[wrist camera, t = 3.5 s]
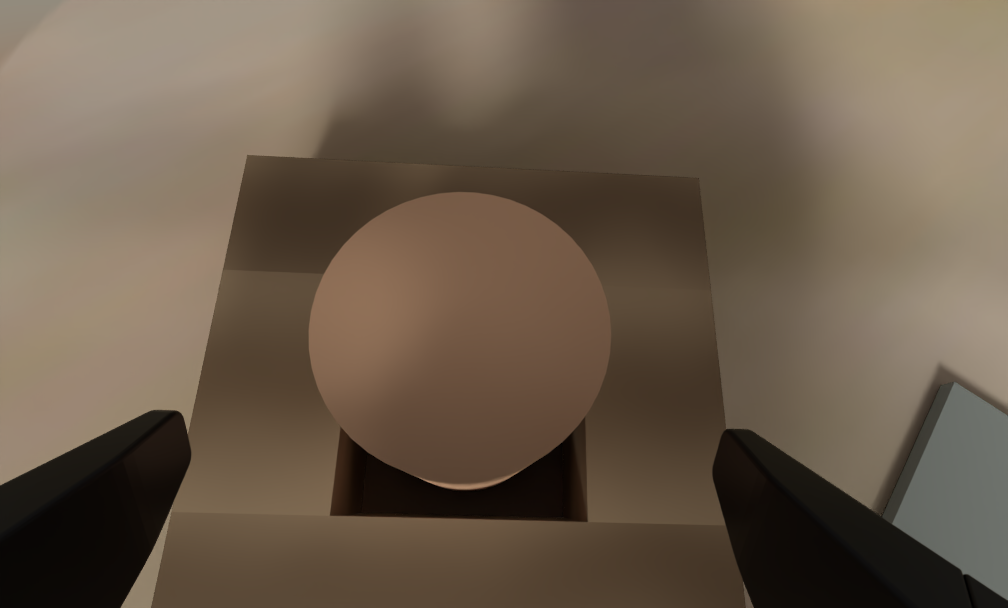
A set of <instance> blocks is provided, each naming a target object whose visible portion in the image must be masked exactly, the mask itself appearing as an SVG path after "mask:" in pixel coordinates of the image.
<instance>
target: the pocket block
mask: <svg viewBox="0 0 1008 608" xmlns="http://www.w3.org/2000/svg"><path fill="white" fill-rule="evenodd" d="M451 192H475V193H482V194H489V195H494V196H498V197H502V198H506V199H510V200H512V201H515V202H517V203H520V204H522V205H525V206H527V207H529V208H531V209H533V210H535V211H537V212H539V213H540V214H542V215H544V216H545V217H547V218H548V219H550V220H551V221H552V222H554V223H555V224H557V225H558V226H559V227H560V228H561V229H562V230H564V231H565V232H566V233H567V234H568V235H569V236H570V237H571V238H572V239H573V240H574V241H575V242H576V244H577V245H578V246H579V247H580V248H581V249H582V251H583V252H584V254H585V255H586V257H587V258H588V260H589V261H590V263H591V264H592V266H593V268H594V270H595V272H596V274H597V276H598V278H599V280H600V282H601V284H602V287H603V290H604V293H605V296H606V299H607V304H608V309H609V314H610V323H611V347H610V357H609V361H608V366H607V371H606V375H605V377H604V380H603V383H602V386H601V389H600V391H599V393H598V395H597V397H596V399H595V401H594V403H593V405H592V407H591V409H590V410H589V411H588V413H587V414H586V416H585V417H584V418H583V420H582V421H581V423H580V424H579V425H578V426H577V427H576V429H575V430H574V431H573V432H572V433H571V434H570V435H569V436H568V437H567V438H566V439H565V440H564V441H563V518H556V517H515V516H474V515H433V514H393V513H361V506H362V496H363V487H364V477H365V467H366V458H367V451H365V450H364V449H363V448H362V447H361V446H360V445H358V444H357V443H356V442H355V441H354V440H352V439H351V438H350V437H349V435H348V434H347V433H346V432H345V431H344V430H343V429H342V428H341V426H340V425H339V424H338V423H337V422H336V420H335V419H334V417H333V416H332V414H331V413H330V411H329V409H328V408H327V406H326V405H325V402H324V400H323V398H322V396H321V394H320V392H319V390H318V387H317V384H316V381H315V378H314V374H313V371H312V367H311V360H310V354H309V323H310V315H311V309H312V305H313V302H314V298H315V294H316V291H317V289H318V287H319V284H320V282H321V279H322V277H323V275H324V273H325V271H326V270H327V268H328V266H329V265H330V263H331V261H332V259H333V258H334V257H335V255H336V254H337V253H338V252H339V250H340V249H341V248H342V246H343V245H344V244H345V243H346V242H347V241H348V240H349V239H350V238H351V237H352V236H353V235H354V234H355V233H356V232H357V231H358V230H359V229H361V228H362V227H363V226H364V225H366V224H367V223H368V222H369V221H371V220H372V219H374V218H375V217H377V216H379V215H380V214H382V213H384V212H385V211H387V210H389V209H391V208H393V207H396V206H398V205H400V204H402V203H404V202H407V201H411V200H414V199H417V198H420V197H424V196H429V195H434V194H439V193H451ZM725 430H726V424H725V415H724V406H723V396H722V387H721V378H720V369H719V360H718V351H717V342H716V333H715V323H714V314H713V305H712V296H711V287H710V278H709V269H708V260H707V250H706V241H705V232H704V223H703V214H702V205H701V196H700V187H699V178H688V177H669V176H649V175H629V174H609V173H590V172H570V171H550V170H531V169H511V168H491V167H472V166H452V165H432V164H412V163H393V162H373V161H353V160H334V159H314V158H294V157H275V156H255V155H247V159H246V164H245V169H244V174H243V178H242V183H241V188H240V192H239V197H238V202H237V206H236V211H235V216H234V221H233V225H232V230H231V235H230V239H229V244H228V249H227V254H226V258H225V263H224V268H223V272H222V277H221V282H220V286H219V291H218V296H217V301H216V305H215V310H214V315H213V319H212V324H211V329H210V334H209V338H208V343H207V348H206V352H205V357H204V362H203V366H202V371H201V376H200V381H199V385H198V390H197V395H196V399H195V404H194V409H193V413H192V418H191V423H190V428H189V432H188V438H189V442H190V446H191V461H190V465H189V468H188V470H187V472H186V474H185V477H184V479H183V481H182V484H181V486H180V488H179V491H178V493H177V495H176V498H175V500H174V503H173V508H172V512H171V517H170V522H169V526H168V531H167V536H166V541H165V545H164V550H163V555H162V559H161V564H160V569H159V573H158V578H157V583H156V588H155V592H154V597H153V602H152V606H151V608H746V606H745V597H744V588H743V579H742V576H741V574H740V571H739V568H738V566H737V563H736V559H735V556H734V553H733V550H732V546H731V543H730V539H729V535H728V532H727V528H726V525H725V521H724V518H723V514H722V510H721V507H720V503H719V500H718V496H717V493H716V489H715V485H714V482H713V477H712V467H713V463H714V459H715V456H716V452H717V449H718V445H719V442H720V438H721V435H722V433H723V432H724V431H725Z"/></svg>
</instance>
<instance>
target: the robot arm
mask: <svg viewBox="0 0 1008 608" xmlns="http://www.w3.org/2000/svg"><path fill="white" fill-rule="evenodd" d="M190 461H191V446H190V442H189V438H188V434H187V430H186V426H185V421H184V418H183V416H182V414H181V413H180V412H178V411H175V410H152V411H149V412H147V413H145V414H143V415H141V416H139V417H137V418H135V419H133V420H131V421H129V422H127V423H125V424H123V425H121V426H119V427H117V428H115V429H113V430H111V431H109V432H107V433H105V434H103V435H101V436H99V437H97V438H95V439H93V440H91V441H89V442H87V443H85V444H83V445H81V446H79V447H77V448H75V449H73V450H71V451H69V452H67V453H65V454H63V455H61V456H59V457H57V458H55V459H53V460H51V461H49V462H47V463H45V464H42V465H40V466H38V467H36V468H34V469H32V470H30V471H28V472H26V473H24V474H22V475H20V476H18V477H16V478H14V479H12V480H10V481H8V482H6V483H4V484H2V485H0V608H121V606H122V604H123V602H124V600H125V599H126V597H127V595H128V593H129V592H130V590H131V588H132V586H133V584H134V583H135V581H136V579H137V577H138V576H139V574H140V572H141V570H142V568H143V567H144V565H145V563H146V561H147V559H148V557H149V555H150V554H151V552H152V550H153V548H154V545H155V543H156V541H157V539H158V537H159V535H160V532H161V530H162V528H163V525H164V523H165V521H166V518H167V516H168V514H169V511H170V509H171V507H172V505H173V502H174V500H175V498H176V495H177V493H178V491H179V488H180V486H181V484H182V481H183V479H184V477H185V474H186V472H187V470H188V468H189V465H190ZM712 477H713V482H714V485H715V489H716V493H717V496H718V500H719V503H720V507H721V510H722V514H723V518H724V521H725V525H726V528H727V532H728V535H729V539H730V543H731V546H732V550H733V553H734V556H735V559H736V563H737V566H738V568H739V571H740V574H741V576H742V579H743V582H744V584H745V587H746V589H747V592H748V594H749V597H750V599H751V602H752V604H753V607H754V608H1008V600H1006V599H1005V598H1003V597H1002V596H1000V595H999V594H997V593H996V592H994V591H993V590H991V589H990V588H988V587H987V586H985V585H984V584H982V583H981V582H979V581H978V580H976V579H975V578H973V577H972V576H970V575H969V574H963V572H962V570H961V569H959V568H958V567H956V566H955V565H953V564H952V563H950V562H949V561H947V560H946V559H944V558H943V557H941V556H940V555H938V554H937V553H935V552H934V551H932V550H931V549H929V548H928V547H926V546H925V545H923V544H922V543H920V542H919V541H917V540H916V539H914V538H913V537H911V536H910V535H908V534H907V533H905V532H904V531H902V530H901V529H899V528H898V527H896V526H895V525H893V524H892V523H890V522H889V521H887V520H886V519H884V518H883V517H881V516H880V515H878V514H876V513H875V512H873V511H872V510H870V509H869V508H867V507H866V506H864V505H863V504H861V503H860V502H858V501H857V500H855V499H854V498H852V497H851V496H849V495H848V494H846V493H845V492H843V491H842V490H840V489H839V488H837V487H836V486H834V485H833V484H831V483H830V482H828V481H827V480H825V479H824V478H822V477H821V476H819V475H818V474H816V473H815V472H813V471H812V470H810V469H809V468H807V467H806V466H804V465H803V464H801V463H800V462H798V461H797V460H795V459H794V458H792V457H791V456H789V455H787V454H786V453H784V452H783V451H781V450H780V449H778V448H777V447H775V446H774V445H772V444H771V443H769V442H768V441H766V440H765V439H763V438H762V437H760V436H759V435H757V434H756V433H754V432H753V431H751V430H748V429H726V430H725V431H724V432H723V433H722V435H721V438H720V442H719V445H718V449H717V452H716V456H715V459H714V463H713V467H712Z"/></svg>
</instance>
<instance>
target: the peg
mask: <svg viewBox="0 0 1008 608" xmlns="http://www.w3.org/2000/svg"><path fill="white" fill-rule="evenodd" d="M610 347H611V323H610V314H609V309H608V304H607V299H606V296H605V293H604V290H603V287H602V284H601V282H600V280H599V278H598V276H597V274H596V272H595V270H594V268H593V266H592V264H591V263H590V261H589V260H588V258H587V257H586V255H585V254H584V252H583V251H582V249H581V248H580V247H579V246H578V245H577V244H576V242H575V241H574V240H573V239H572V238H571V237H570V236H569V235H568V234H567V233H566V232H565V231H564V230H562V229H561V228H560V227H559V226H558V225H557V224H555V223H554V222H552V221H551V220H550V219H548V218H547V217H545V216H544V215H542V214H540V213H539V212H537V211H535V210H533V209H531V208H529V207H527V206H525V205H522V204H520V203H517V202H515V201H512V200H510V199H506V198H502V197H498V196H494V195H489V194H482V193H475V192H451V193H439V194H434V195H429V196H424V197H420V198H417V199H414V200H411V201H407V202H404V203H402V204H400V205H398V206H396V207H393V208H391V209H389V210H387V211H385V212H384V213H382V214H380V215H379V216H377V217H375V218H374V219H372V220H371V221H369V222H368V223H367V224H366V225H364V226H363V227H362V228H361V229H359V230H358V231H357V232H356V233H355V234H354V235H353V236H352V237H351V238H350V239H349V240H348V241H347V242H346V243H345V244H344V245H343V246H342V248H341V249H340V250H339V252H338V253H337V254H336V255H335V257H334V258H333V259H332V261H331V263H330V265H329V266H328V268H327V270H326V271H325V273H324V275H323V277H322V279H321V282H320V284H319V287H318V289H317V291H316V294H315V298H314V302H313V305H312V309H311V315H310V323H309V354H310V360H311V367H312V371H313V374H314V378H315V381H316V384H317V387H318V390H319V392H320V394H321V396H322V398H323V400H324V402H325V405H326V406H327V408H328V409H329V411H330V413H331V414H332V416H333V417H334V419H335V420H336V422H337V423H338V424H339V425H340V426H341V428H342V429H343V430H344V431H345V432H346V433H347V434H348V435H349V437H350V438H351V439H352V440H354V441H355V442H356V443H357V444H358V445H360V446H361V447H362V448H363V449H364V450H365V451H367V452H368V453H370V454H371V455H373V456H374V457H376V458H378V459H379V460H381V461H382V462H384V463H386V464H388V465H390V466H393V467H395V468H397V469H399V470H402V471H404V472H406V473H408V474H411V475H413V476H415V477H418V478H420V479H422V480H425V481H427V482H429V483H432V484H434V485H436V486H438V487H441V488H444V489H448V490H452V491H459V492H473V491H480V490H484V489H488V488H491V487H493V486H496V485H498V484H500V483H502V482H504V481H505V480H507V479H509V478H510V477H512V476H513V475H515V474H516V473H518V472H520V471H521V470H523V469H524V468H526V467H527V466H529V465H531V464H532V463H534V462H535V461H537V460H538V459H540V458H542V457H543V456H545V455H546V454H548V453H549V452H550V451H552V450H553V449H554V448H555V447H557V446H558V445H559V444H560V443H562V442H563V441H564V440H565V439H566V438H567V437H568V436H569V435H570V434H571V433H572V432H573V431H574V430H575V429H576V427H577V426H578V425H579V424H580V423H581V421H582V420H583V418H584V417H585V416H586V414H587V413H588V411H589V410H590V409H591V407H592V405H593V403H594V401H595V399H596V397H597V395H598V393H599V391H600V389H601V386H602V383H603V380H604V377H605V375H606V371H607V366H608V361H609V357H610Z"/></svg>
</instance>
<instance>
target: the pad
mask: <svg viewBox="0 0 1008 608" xmlns="http://www.w3.org/2000/svg"><path fill="white" fill-rule="evenodd" d="M882 517H883V518H884V519H886V520H887V521H889V522H890V523H892V524H893V525H895V526H896V527H898V528H899V529H901V530H902V531H904V532H905V533H907V534H908V535H910V536H911V537H913V538H914V539H916V540H917V541H919V542H920V543H922V544H923V545H925V546H926V547H928V548H929V549H931V550H932V551H934V552H935V553H937V554H938V555H940V556H941V557H943V558H944V559H946V560H947V561H949V562H950V563H952V564H953V565H955V566H956V567H958V568H959V569H961V570H962V572H963V574H969V575H970V576H972V577H973V578H975V579H976V580H978V581H979V582H981V583H982V584H984V585H985V586H987V587H988V588H990V589H991V590H993V591H994V592H996V593H997V594H999V595H1000V596H1002V597H1003V598H1005V599H1006V600H1008V415H1006V414H1004V413H1003V412H1001V411H1000V410H998V409H997V408H995V407H993V406H992V405H990V404H989V403H987V402H986V401H984V400H982V399H981V398H979V397H978V396H976V395H975V394H973V393H971V392H970V391H968V390H967V389H965V388H964V387H962V386H960V385H959V384H957V383H956V382H952V383H948V384H944V385H941V386H940V389H939V391H938V393H937V395H936V398H935V400H934V402H933V404H932V406H931V409H930V411H929V413H928V415H927V418H926V420H925V422H924V424H923V426H922V429H921V431H920V433H919V435H918V438H917V440H916V442H915V444H914V447H913V449H912V451H911V453H910V455H909V458H908V460H907V462H906V464H905V467H904V469H903V471H902V473H901V476H900V478H899V480H898V482H897V484H896V487H895V489H894V491H893V493H892V496H891V498H890V500H889V502H888V505H887V507H886V509H885V511H884V513H883V516H882Z"/></svg>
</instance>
